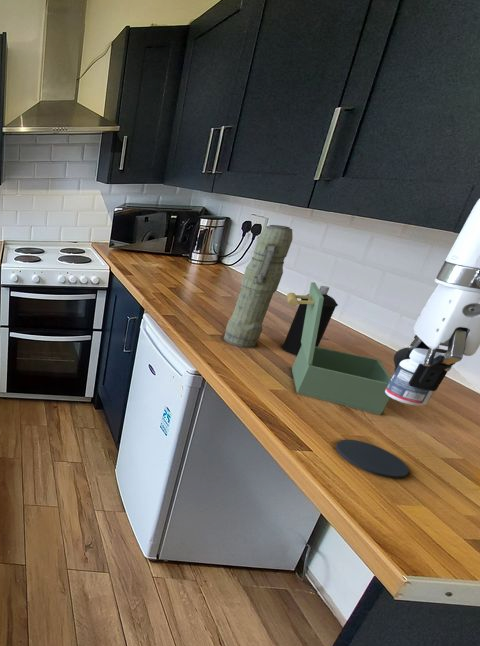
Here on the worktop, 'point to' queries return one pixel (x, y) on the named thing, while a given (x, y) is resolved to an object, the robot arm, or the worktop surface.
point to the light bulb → (399, 356)
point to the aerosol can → (296, 329)
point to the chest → (342, 379)
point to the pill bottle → (402, 376)
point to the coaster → (372, 459)
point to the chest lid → (309, 318)
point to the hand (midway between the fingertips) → (415, 379)
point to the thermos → (258, 286)
